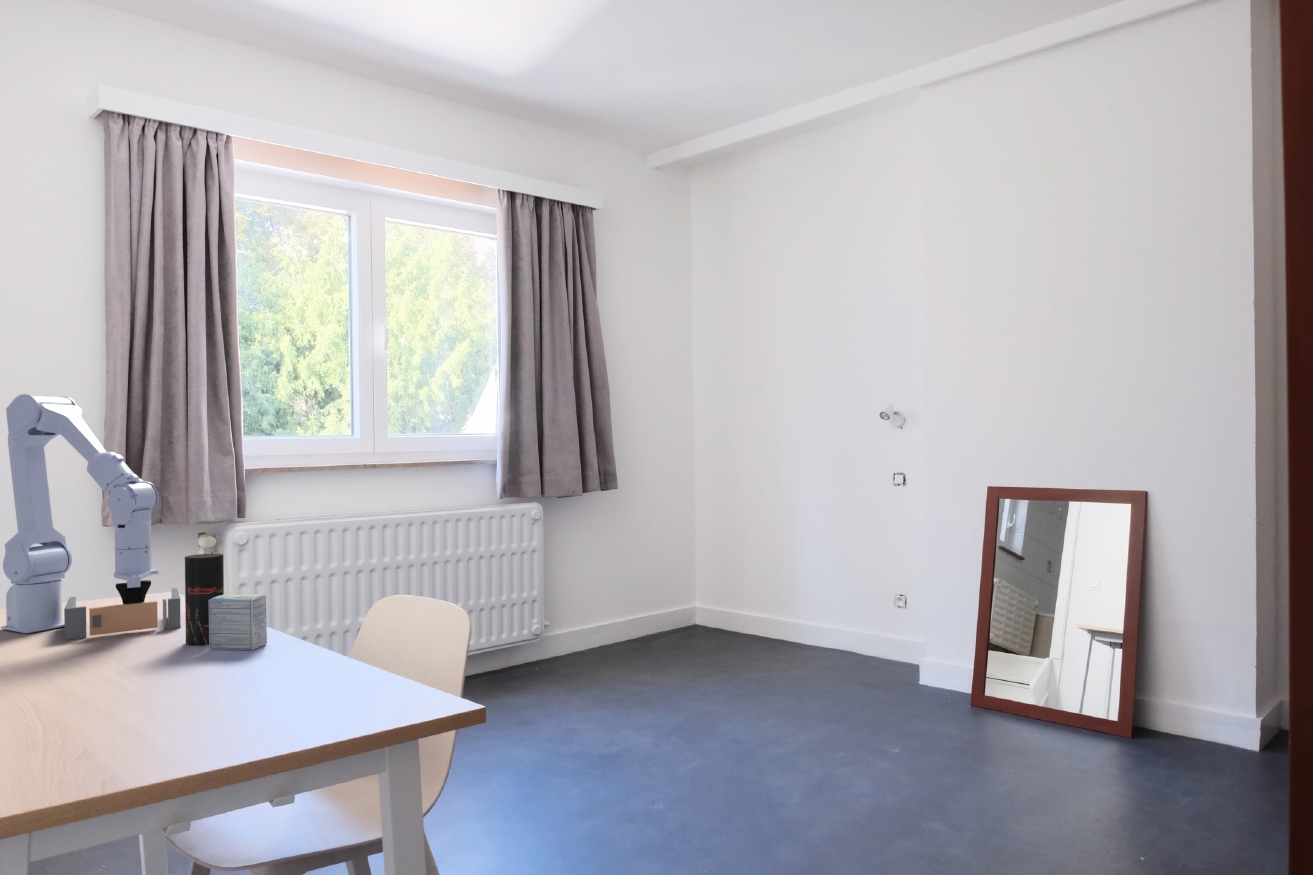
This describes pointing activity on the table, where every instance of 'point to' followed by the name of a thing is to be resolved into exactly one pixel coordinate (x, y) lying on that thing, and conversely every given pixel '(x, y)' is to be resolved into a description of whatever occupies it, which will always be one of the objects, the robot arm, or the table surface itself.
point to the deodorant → (201, 594)
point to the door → (123, 618)
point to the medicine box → (237, 622)
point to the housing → (77, 616)
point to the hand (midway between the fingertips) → (133, 621)
